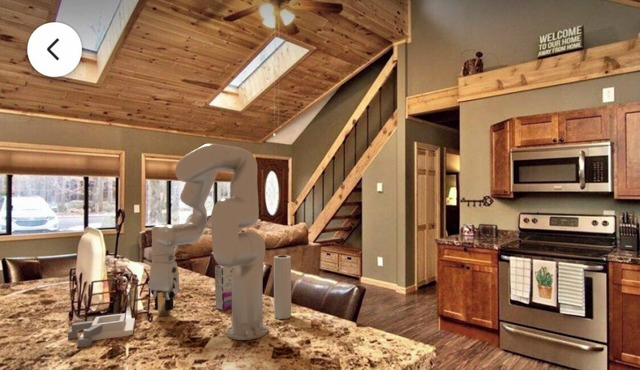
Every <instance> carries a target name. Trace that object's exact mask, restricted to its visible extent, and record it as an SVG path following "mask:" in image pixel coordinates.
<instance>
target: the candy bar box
mask: <svg viewBox="0 0 640 370" xmlns="http://www.w3.org/2000/svg"><path fill="white" fill-rule="evenodd" d="M233 269H234V266H233V267H222V266H220V265H219V264H218V265H214V287H215V289H214V290H215V291H214V292H215V294H214V295H215V309H216V310H219V311H227V310H229V309H232V273H233Z"/></svg>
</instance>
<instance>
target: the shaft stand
mask: <svg viewBox="0 0 640 370" xmlns="http://www.w3.org/2000/svg"><path fill="white" fill-rule="evenodd" d="M135 324H136V318H135V317H132V318H131V317H130V318H127V317H126V312H124V313H117V314H116V313H115V314H109V315H101V316H100V315H99V316H95V318H94V320H88V321H80V322H73V323H72V324H71V328H69V330H68V331H67V340H72V339H73V340H74V339H76V338H77V337H78V334H79V332H78V331H82V332H81V334H80V336H79V338H78V339H77V341H76V342H77V344H76V346H77V347H79V348H80V347H81V348H87V347H88V348H89V346H91V345H93V341H98V340H106V339H111V338H118V337H119V338H120V337H126V336H132V335H133V334H134V328H135Z"/></svg>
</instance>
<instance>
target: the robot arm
mask: <svg viewBox="0 0 640 370" xmlns="http://www.w3.org/2000/svg"><path fill="white" fill-rule="evenodd" d="M219 172H223V173H225V172H227V173H233V175H232V177H231V180H230V185H229V190H230V192H229V193H230V197H224V198H222V199H219V200H217V202H216V203H215V204H214V206H213V207H212V209H211V213H210V216H211V217H210V226H211V227H210V228H211V229H210V230H211V245H212V246H211V247H212V248H211V249H212V254H213V258H214V261H215V262H216V263H217V264H218V265H220V266H222V267H233V266H234V269H233V273H232V308H231V326H229V327H228V328H227V329H226V336H227V337H228V338H230V339H232V340H236V341H250V340H251V341H252V340H255V339H258V338H259V339H260V338H262V337H264V336H265V335H266V334H267V333H268V330H269V328H268V325H266V324H265V323H263V320H264V317H263V314H264V313H263V311H264V309H263V304H264V303H263V297H264V296H263V290H264V289H263V282H264V281H263V277H264V276H263V275H264V274H263V271H264V270H263V269H264V260H265V254H266V242H265V239H264V238H263V236H262V235H261V234H259V233H258V232H255V231H251V230H250V231H249V230H248V231H240V232H239V229H242V228H243V229H244V228H249V227H250V228H251V227H252V226H255V225H256V224H257V223H258V220H259V218H260V217H259V216H260V212H259V211H260V210H259V192H258V191H259V190H258V161H257V159H256V157H255V155H253V153H252V152H251V151H249V150H247V149H245V148H243V147H239V146H233V145H225V144H219V143H206V144H204V145H202V146H200V147H197V148H196V149H194V150H192V151H191V152H189V153H187V154H185V155H184V156H182V157H181V158H180V159H179V160H178V162H177V163H176V166H175V170H174V173H175V176H176V178H177V180H179V181H180V182H183V183H184V186H183V188H182V190H181V192H180V196H179V197H180V200H181V202H182V204H183V203H184V204H185V205H186V206H188V207H189V208H192V214H191V217H190V220H189V222H187V223H177V224H168V223H167V224H166V223H164V224H155V225H152V228H151V254H152V255H151V261H152V262H151V263H150V270H149V284H148V287H147V290H148V291H149V288H150V291H149V292H150V293H151V295H152V298H153V299H154V310H155V311H156V310H157V311H158V296H156V293H157V292H158V291H165V292H166V298H167V300H165V310H166V311H169V310H170V311H171V310H173V309H174V298H175V297H176V296H177V294H178V293H180V292H181V288H180V275H179V267H178V264H177V263H178V262H177V261H176V259H177V256H176V255H175V247H179V246H183V245H185V246H186V245H190V244H194V243H196V242H198V241H199V239H200V238H201V237H202V235H203V232H204V231H205V229H206V226H207V223H208V222H207V221H208V212H207V208H206V201H207V199H208V197H209V195H210V192H211V190H212V187H213V185H214V182H215V181H216V178H217V175H218V173H219ZM169 292H170V293H171V294H169Z"/></svg>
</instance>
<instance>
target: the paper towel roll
mask: <svg viewBox="0 0 640 370" xmlns="http://www.w3.org/2000/svg"><path fill="white" fill-rule="evenodd" d="M291 264H292V256H290V255H285V254H277V255H275V256H273V316H274V318H275V319H279V320H285V319H290V318H291V317H292V265H291Z"/></svg>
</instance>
